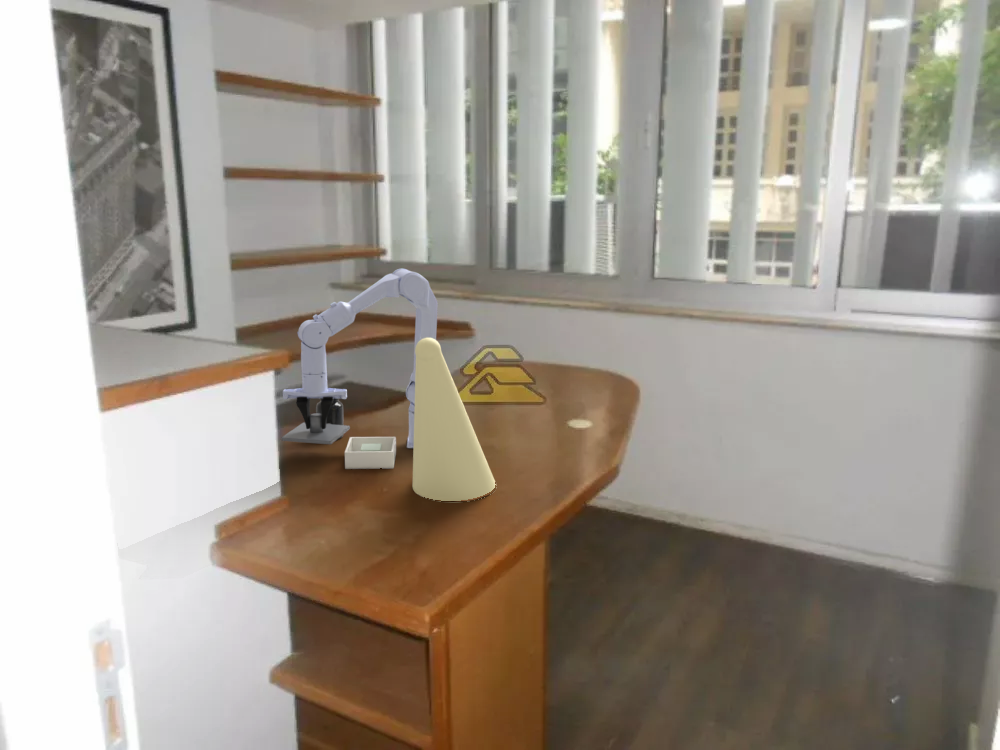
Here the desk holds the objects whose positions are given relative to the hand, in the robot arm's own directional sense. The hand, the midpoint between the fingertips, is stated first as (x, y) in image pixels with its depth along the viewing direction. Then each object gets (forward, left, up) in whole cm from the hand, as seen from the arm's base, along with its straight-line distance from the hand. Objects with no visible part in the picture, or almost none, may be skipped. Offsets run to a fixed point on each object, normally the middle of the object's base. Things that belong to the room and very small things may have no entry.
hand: (316, 427), depth 179 cm
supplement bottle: (-1, -15, -7) cm, 17 cm away
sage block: (-13, +3, -7) cm, 15 cm away
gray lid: (0, 0, -2) cm, 2 cm away
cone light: (-31, +22, -7) cm, 39 cm away
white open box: (-13, +3, -7) cm, 15 cm away
